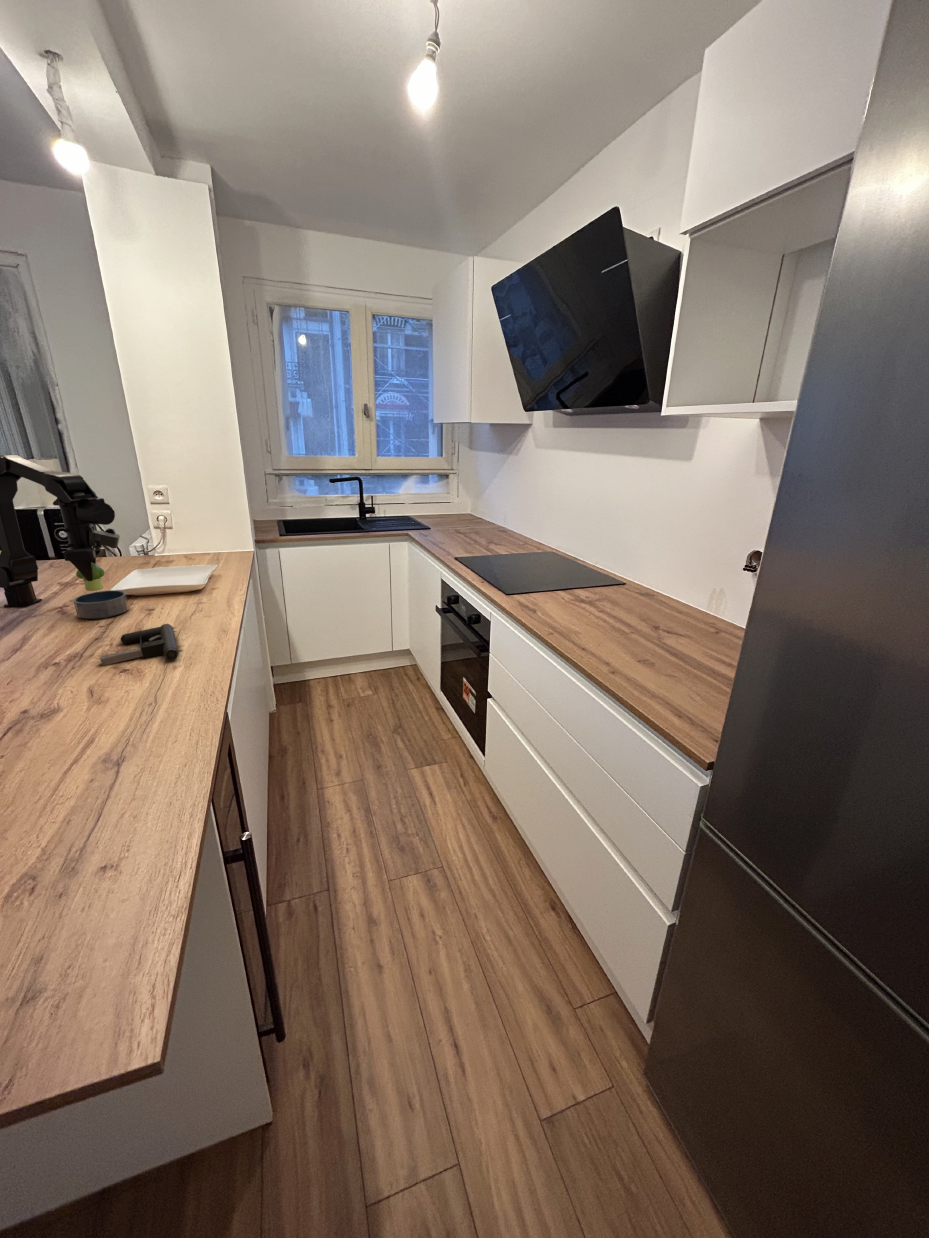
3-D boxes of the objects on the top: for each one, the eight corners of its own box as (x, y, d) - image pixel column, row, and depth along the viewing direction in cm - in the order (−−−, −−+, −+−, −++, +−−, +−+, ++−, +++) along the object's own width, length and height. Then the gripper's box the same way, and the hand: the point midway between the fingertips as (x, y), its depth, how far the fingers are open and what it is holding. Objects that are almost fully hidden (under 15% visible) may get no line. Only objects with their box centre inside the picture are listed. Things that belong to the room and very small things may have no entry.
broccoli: (79, 592, 133) (71, 565, 131) (82, 588, 138) (75, 561, 135) (107, 589, 136) (100, 563, 134) (109, 585, 141) (103, 559, 138)
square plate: (219, 573, 183) (217, 563, 181) (207, 594, 158) (205, 582, 157) (137, 578, 175) (134, 567, 173) (110, 600, 150) (107, 588, 149)
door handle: (97, 665, 103) (182, 646, 111) (101, 635, 119) (175, 620, 127) (102, 679, 104) (186, 659, 112) (105, 647, 120) (179, 631, 128)
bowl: (96, 606, 146) (92, 590, 144) (138, 606, 146) (134, 590, 144) (67, 620, 134) (62, 603, 132) (112, 620, 135) (107, 603, 133)
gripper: (109, 526, 127) (123, 583, 132) (117, 516, 142) (129, 568, 147) (55, 529, 122) (72, 588, 127) (69, 518, 137) (84, 572, 142)
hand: (92, 578), depth 136 cm, fingers closed on broccoli, 5 cm apart
